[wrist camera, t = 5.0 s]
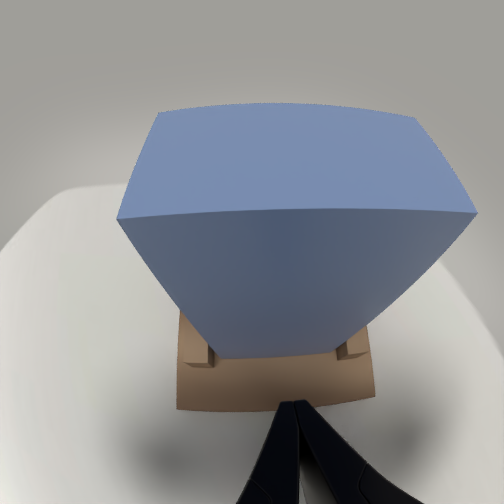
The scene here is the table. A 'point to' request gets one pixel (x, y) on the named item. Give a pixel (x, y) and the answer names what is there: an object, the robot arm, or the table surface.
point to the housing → (269, 376)
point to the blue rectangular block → (289, 220)
